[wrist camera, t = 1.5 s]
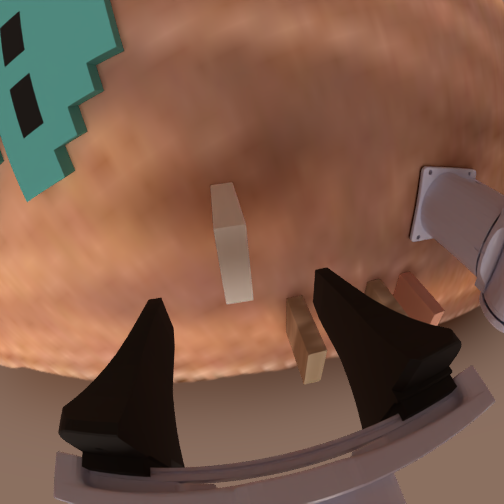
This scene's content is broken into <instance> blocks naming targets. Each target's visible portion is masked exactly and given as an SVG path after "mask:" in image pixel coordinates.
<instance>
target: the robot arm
mask: <svg viewBox="0 0 504 504" xmlns="http://www.w3.org/2000/svg"><path fill="white" fill-rule="evenodd" d="M429 171H430V172H429ZM475 178H476V171H475V170H474V169H467V168H452V167H431V166H425V167H423V168H422V170H421V178H420V185H419V191H418V198H417V204H416V209H415V215H414V220H413V225H412V229H411V234H410V240H411V241H412V242H416V241H421V240H426V239H431V238H434V239H435V240H436V241H438V242H439V243H440V244H441V245H442V246H443V247H445V248H446V249H447V250H448V251H449V252H450V253H451V254H453V255H454V256H455V257H456V258H457V259H458V260H459V261H460V262H461V263H462V264H463V265H465V266H466V267H467V268H468V269H469V270H470V271H471V272H472V273H473V274H474V275H475V276H476V277H477V279H476V282H475V286H476V287H477V288H478V289H479V290H480V291H481V293H480V297H479V300H480V305H481V308H482V310H483V312H484V315H485V316H486V318H487V320H488V321H489V322H490V323H491V324H492V325H493V326H494V327H495V328H496V329H498V330H499V331H501V332H503V333H504V195H502V194H501V193H499V192H497V191H496V190H494V189H492V188H491V187H489V186H487V185H485V184H483V183H482V182H480V181H478V180H476V179H475ZM313 303H314V306H315V309H316V311H317V314H318V317H319V319H320V321H321V323H322V325H323V327H324V329H325V331H326V333H327V334H328V336H329V338H330V340H331V342H332V344H333V346H334V347H335V349H336V351H337V353H338V355H339V357H340V359H341V362H342V364H343V367H344V369H345V372H346V375H347V377H348V380H349V383H350V386H351V389H352V392H353V395H354V399H355V402H356V406H357V409H358V412H359V417H360V421H361V425H362V430H360V431H357V432H355V433H352V434H350V435H347V436H344V437H341V438H338V439H336V440H332V441H329V442H326V443H323V444H320V445H317V446H313V447H310V448H307V449H303V450H299V451H295V452H291V453H287V454H283V455H278V456H274V457H269V458H264V459H258V460H252V461H246V462H240V463H233V464H224V465H215V466H203V467H186V468H185V467H184V463H183V458H182V454H181V450H180V446H179V439H178V434H177V428H176V420H175V412H174V402H173V369H174V350H175V344H174V328H173V326H172V323H171V321H170V318H169V316H168V313H167V311H166V309H165V306H164V303H163V301H162V298H156V299H149V300H148V302H147V304H146V305H145V307H144V309H143V311H142V312H141V314H140V316H139V318H138V320H137V321H136V323H135V325H134V326H133V328H132V330H131V332H130V333H129V335H128V337H127V338H126V340H125V341H124V343H123V344H122V346H121V348H120V349H119V351H118V352H117V353H116V355H115V356H114V358H113V359H112V360H111V361H110V363H109V364H108V365H107V366H106V368H105V369H104V370H103V371H102V372H101V373H100V374H99V375H98V377H97V378H96V379H95V380H94V381H93V382H92V383H91V384H90V385H89V386H88V387H87V388H86V389H85V390H84V391H83V392H81V393H80V394H79V395H78V396H77V397H76V398H74V399H73V400H72V401H70V402H69V403H68V404H67V405H65V406H64V407H63V409H62V414H61V420H60V426H59V435H60V437H61V438H62V439H63V440H65V441H66V442H68V443H69V444H71V445H72V446H74V447H76V448H77V449H79V450H81V451H82V452H83V455H82V457H80V456H77V455H73V454H68V453H63V452H59V451H58V452H57V453H56V465H55V477H54V498H55V499H58V500H61V501H64V502H67V503H70V504H406V501H405V499H404V496H403V494H402V492H401V489H400V487H399V484H398V482H397V479H396V477H395V475H394V472H396V471H398V470H400V469H402V468H404V467H406V466H408V465H409V464H411V463H413V462H415V461H417V460H418V459H420V458H422V457H423V456H425V455H427V454H428V453H430V452H431V451H433V450H434V449H436V448H437V447H439V446H440V445H442V444H443V443H445V442H446V441H448V440H449V439H450V438H452V437H453V436H455V435H456V434H458V433H459V432H460V431H462V430H463V429H464V428H465V427H467V426H468V425H469V424H470V423H471V422H473V421H474V420H475V419H477V418H478V417H479V416H480V415H481V414H482V413H483V412H485V411H486V410H487V409H488V408H489V407H490V406H491V405H492V404H494V403H495V399H494V397H493V396H492V394H491V393H490V391H489V390H488V388H487V386H486V385H485V383H484V382H483V380H482V379H481V377H480V376H479V374H478V373H477V371H476V370H475V369H474V367H473V366H472V365H471V366H470V367H468V368H467V369H465V370H464V371H462V372H461V373H459V374H458V375H457V376H456V377H454V378H453V379H452V377H451V376H450V374H451V373H452V370H451V368H450V367H449V365H450V364H451V363H452V361H453V360H454V358H455V357H456V356H457V354H458V352H459V351H460V348H461V341H460V340H459V339H458V337H457V336H456V335H455V333H454V332H453V331H452V330H451V329H449V328H444V327H440V326H435V325H431V324H428V323H425V322H422V321H419V320H416V319H413V318H410V317H408V316H405V315H403V314H401V313H398V312H396V311H394V310H392V309H390V308H388V307H386V306H384V305H382V304H381V303H379V302H377V301H375V300H374V299H372V298H370V297H369V296H367V295H366V294H364V293H362V292H361V291H359V290H358V289H357V288H355V287H354V286H352V285H351V284H349V283H348V282H347V281H345V280H344V279H342V278H341V277H340V276H338V275H337V274H336V273H334V272H333V271H331V270H330V269H328V268H323V269H318V270H315V282H314V296H313ZM354 450H355V451H354ZM352 451H353V452H352ZM349 452H352V456H351V457H350V458H345V459H341V460H338V461H335V462H331V463H328V464H325V465H322V466H319V467H316V468H312V469H309V470H305V471H301V472H297V473H293V474H289V475H285V476H280V477H275V478H270V479H265V480H260V481H255V482H250V483H246V484H242V485H236V486H230V487H223V488H217V487H216V485H214V484H204V483H216V482H217V483H218V482H227V481H236V480H243V479H250V478H256V477H262V476H267V475H272V474H277V473H282V472H286V471H290V470H294V469H298V468H302V467H306V466H309V465H313V464H316V463H320V462H323V461H326V460H329V459H332V458H335V457H338V456H341V455H344V454H346V453H349Z"/></svg>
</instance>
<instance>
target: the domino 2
mask: <svg viewBox="0 0 504 504" xmlns="http://www.w3.org/2000/svg"><path fill="white" fill-rule="evenodd" d="M365 294H366V295H367V296H369V297H370V298H372V299H374V300H375V301H377V302H379V303H381V304H382V305H384V306H386V307H388V308H390V309H392V310H394V311H396V312H398V313H401V314H403V315H405V316H408V315H407V314H406V312H405V311H404V310H403V308H402V307H401V306H400V304H399V303H398V302H397V300H396V299H395V298H394V296H393V295H392V294H391V293H390V291H389V290H388V289H387V287H386V286H385V285H384V284H383V282H382V281H381V280H380V279H377V280H373V281H368V282H367V286H366V290H365ZM408 317H409V316H408Z"/></svg>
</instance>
